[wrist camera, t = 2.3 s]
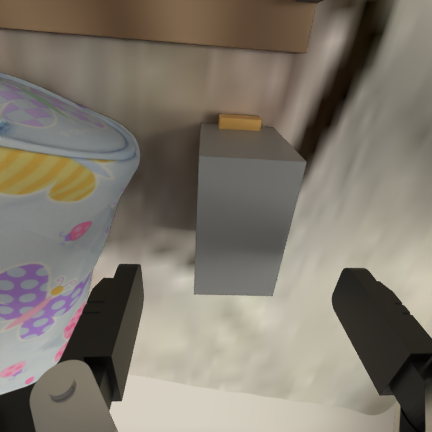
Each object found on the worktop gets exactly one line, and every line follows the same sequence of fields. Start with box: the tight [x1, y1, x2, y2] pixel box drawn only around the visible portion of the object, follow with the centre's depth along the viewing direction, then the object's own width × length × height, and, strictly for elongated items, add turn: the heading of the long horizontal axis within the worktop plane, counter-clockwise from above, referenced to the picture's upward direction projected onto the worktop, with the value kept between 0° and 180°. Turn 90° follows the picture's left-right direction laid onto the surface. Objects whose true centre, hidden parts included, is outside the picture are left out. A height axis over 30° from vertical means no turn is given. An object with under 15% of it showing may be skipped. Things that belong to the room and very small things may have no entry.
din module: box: [194, 114, 307, 296], centre depth 16 cm, size 4×9×6 cm, turn 176°
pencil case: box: [0, 72, 140, 395], centre depth 16 cm, size 21×9×10 cm, turn 155°
